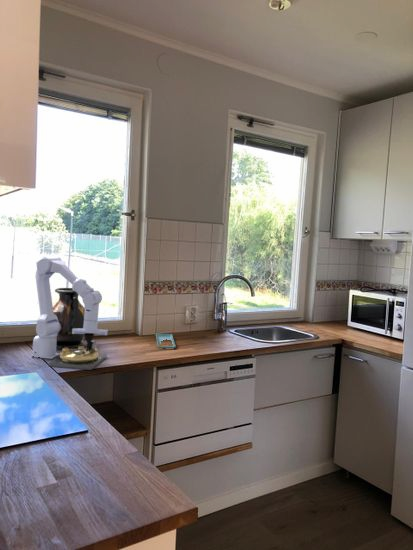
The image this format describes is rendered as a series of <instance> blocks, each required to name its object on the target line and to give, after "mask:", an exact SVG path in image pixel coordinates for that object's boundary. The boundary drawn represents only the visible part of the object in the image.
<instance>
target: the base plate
mask: <svg viewBox="0 0 413 550" xmlns="http://www.w3.org/2000/svg"><path fill="white" fill-rule="evenodd" d="M107 355H108V354H107V353H99V352H98V359H96V360H94V361H90V362H83V363H73V362H66V361H62V360H61V359H60V355H58V356H56V357H55V358H53V359H51V361H49V362H48V367H54V368H65V369H77V370H88V371H89V370H90V371H91V370H93V369H95V367H97V366H99V364H101V363H102V362H103V361H104V360H105V359H106V358H107V357H108V356H107ZM101 361H102V362H101Z"/></svg>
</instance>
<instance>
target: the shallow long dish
mask: <svg viewBox="0 0 413 550" xmlns="http://www.w3.org/2000/svg"><path fill="white" fill-rule="evenodd" d="M155 336H156V344H157V345H156V346H157V348H158V349H159V348H175V349H176V347H177V345H176V344H175V339H174V337H173V334H172V333H171V334H170V333H169V334H168V333H156V334H155ZM166 339H167V340H171V341H172V344H173V346H159V343H160V344H161V341H163V340H166Z"/></svg>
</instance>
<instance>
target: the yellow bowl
mask: <svg viewBox="0 0 413 550" xmlns="http://www.w3.org/2000/svg"><path fill="white" fill-rule="evenodd" d="M96 343H97V342H96V340H91V342H90V351H86V347H85V345H84V346H79V347H78V348H74V349H69V348H63V349H62V350H60V351H59V352H60V354H59V356H60V359H61V360H62V361H66V362H73V363H83V362H90V361H94V360H96V359H98V353H99V349H98V348H97V347H96Z"/></svg>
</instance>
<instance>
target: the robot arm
mask: <svg viewBox="0 0 413 550" xmlns="http://www.w3.org/2000/svg"><path fill="white" fill-rule="evenodd" d="M55 273H56V274H59V275H61V276H62V277H63V278H64V279H65V280H67V282H68V283H70V284H71V285H72V287H71V288H73V289H74V290H75V291H76V292H77V293H78V294H79V297H81V298H82V303H83V305H84V306H83V307H84V308H85V312H84V326H83V328H79V329H72V334H85V339H84V340H85V341H86V347H85V348H86V351H90V342H91V341H93V338H95V337H94V335H97V336H98V335H99V336H100V335H101V336H108V329H100V328H98V322H99V321H98V320H99V307H100V303H101V302H102V299H103V296H102V294H101V292H100V291H99V290H94V288H93V287H91V286H90V285H89V284H88V283H87V280H86V279H83V278H80V279H79V278H78V277H77V276H76V275H75V274H74V272H73V271H72V270H71V268H69V267H68V266H67V265H66V263H65V261H64V260H63V259H62V258H61V257H60V256H47V257H46V256H42V257H40V258H39V259H38V261H37V262H36V271H35V283H36V290H37V298H38V306H39V317H38V318H37V320H36V326H35V327H36V328H35V332H36V334H37V335H35V337H33V340H32V355H31V357H32V356H34V357H33V358H38V357H40V359H51V360H54V359H55V358H57V357H59V356H60V353H59V352H57V349H56V343H57V335H58V332H59V331H60V328H61V326H60V323H59V322H58V317H57V316H56V315H55V314H54V313H53V306H54V305H53V298H52V292H51V291H52V290H51V289H52V288H51V283H50V278H51V277H52V276H53V275H55ZM47 321H48V322H47Z"/></svg>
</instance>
